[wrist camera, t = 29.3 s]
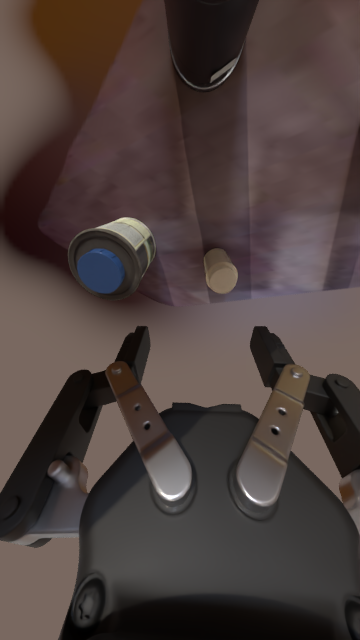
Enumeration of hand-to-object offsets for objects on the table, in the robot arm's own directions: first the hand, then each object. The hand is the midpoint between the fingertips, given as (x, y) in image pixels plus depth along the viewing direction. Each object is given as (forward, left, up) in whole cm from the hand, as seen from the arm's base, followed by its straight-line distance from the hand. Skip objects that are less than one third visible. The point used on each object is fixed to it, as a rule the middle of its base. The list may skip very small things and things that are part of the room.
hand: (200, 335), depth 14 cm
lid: (-4, -12, -12) cm, 18 cm away
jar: (+4, +4, -28) cm, 29 cm away
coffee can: (-4, -12, -28) cm, 31 cm away
